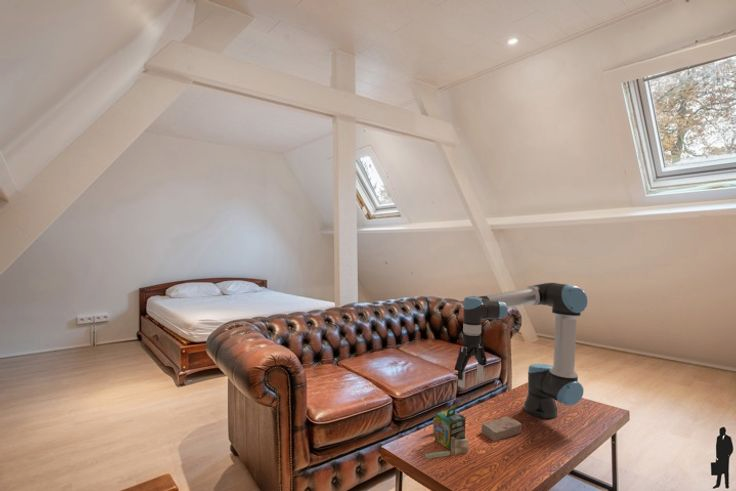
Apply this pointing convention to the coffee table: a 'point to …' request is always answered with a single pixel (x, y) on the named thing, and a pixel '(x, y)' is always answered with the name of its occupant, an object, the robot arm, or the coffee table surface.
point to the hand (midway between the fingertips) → (470, 383)
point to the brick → (501, 428)
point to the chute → (456, 444)
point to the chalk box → (449, 427)
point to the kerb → (437, 454)
